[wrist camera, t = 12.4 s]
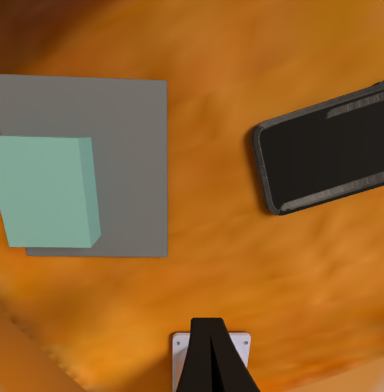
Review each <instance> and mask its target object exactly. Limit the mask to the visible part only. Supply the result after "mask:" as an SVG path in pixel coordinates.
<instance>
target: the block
mask: <svg viewBox="0 0 384 392" xmlns="http://www.w3.org/2000/svg"><path fill="white" fill-rule="evenodd" d="M0 210H1V214H2V219H3V223H4V227H5V231H6V235H7V239H8V243H9V247H71V248H91V247H92V246H93V245H94V243H95V242H96V241H97V240H98V239H99V237H100V236H101V231H100V221H99V211H98V201H97V192H96V182H95V172H94V162H93V152H92V143H91V137H59V136H24V135H0Z"/></svg>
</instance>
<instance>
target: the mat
mask: <svg viewBox="0 0 384 392" xmlns="http://www.w3.org/2000/svg"><path fill="white" fill-rule="evenodd" d="M0 132H1V135H24V136H59V137H91V143H92V152H93V162H94V172H95V182H96V192H97V201H98V211H99V221H100V231H101V236H100V237H99V239H98V240H97V241H96V242H95V243H94V245H93V246H92V247H91V248H71V247H26V252H27V256H96V257H167V255H168V200H167V81H163V80H137V79H111V78H86V77H60V76H34V75H8V74H0Z"/></svg>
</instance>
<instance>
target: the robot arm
mask: <svg viewBox="0 0 384 392" xmlns="http://www.w3.org/2000/svg"><path fill="white" fill-rule="evenodd" d="M177 341H178V342H177ZM244 341H245V342H244ZM250 341H251V337H250V334H249V333H228V331H227V328H226V326H225V324H224V321H223V319H222V318H193V319H191V330H190V333H175V334H174V335H173V343H172V392H260V390H259V389H258V387H257V385H256V384H255V382H254V380H253V379H252V377H251V375H250V374H249V372H248V370H247V363H248V356H249V348H250Z"/></svg>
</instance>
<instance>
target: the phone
mask: <svg viewBox="0 0 384 392" xmlns="http://www.w3.org/2000/svg"><path fill="white" fill-rule="evenodd" d="M250 138H251V145H252V149H253V148H254V150H253V154H254V158H255V163H256V167H257V171H258V176H259V180H260V185H261V189H262V194H263V198H264V202H265V205H266V207H267V209H268V210H269V211H270V212H272V213H273V214H275V215H279V216H281V215H286V214H289V213H293V212H296V211H299V210H303V209H306V208H310V207H313V206H316V205H320V204H323V203H326V202H330V201H333V200H337V199H340V198H343V197H347V196H350V195H353V194H357V193H360V192H364V191H367V190H370V189H374V188H377V187H380V186H384V81H382V82H379V83H377V85H374V86H371V87H368V88H365V89H362V90H359V91H356V92H352V93H349V94H346V95H343V96H340V97H337V98H334V99H331V100H328V101H325V102H322V103H319V104H315V105H312V106H309V107H306V108H303V109H300V110H297V111H294V112H291V113H288V114H285V115H282V116H278V117H275V118H272V119H269V120H266V121H263V122H261V123H259V124H257V125H256V126H255V127H254V128H253V130H252V132H251V136H250Z"/></svg>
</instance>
